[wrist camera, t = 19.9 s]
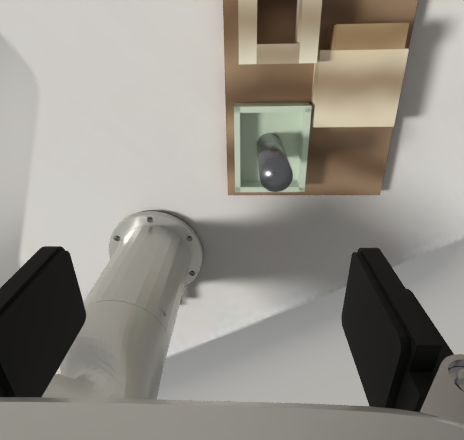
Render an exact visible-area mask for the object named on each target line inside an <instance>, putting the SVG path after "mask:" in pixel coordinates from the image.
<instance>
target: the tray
mask: <svg viewBox="0 0 464 440" xmlns="http://www.w3.org/2000/svg"><path fill="white" fill-rule="evenodd" d="M311 109H312V106H311V105H310V104H309V103H308V102H272V103H235V104H234V149H235V192H271V191H268V190H267V189H265V188H264V187H263V186H262V184H261V182H260V177H259V167H258V157H257V147H256V145H257V141H258V139H259V138H260V137H261V136H262V135H263V134H266V133H274V134H276V135H277V136H279V138H280V139H281V142H282V144H283V147H284V150H285V153H286V155H287V158H288V161H289V164H290V166H291V169H292V172H293V179H292V182H291V184H290V185H289V186H288V187H287V188H286V189H285V190H283V191H280V192H305V180H306V168H307V156H308V145H309V133H310V121H311Z"/></svg>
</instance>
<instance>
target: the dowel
mask: <svg viewBox="0 0 464 440" xmlns="http://www.w3.org/2000/svg"><path fill="white" fill-rule="evenodd" d="M256 147H257V157H258V167H259V177H260V182H261V184H262V186H263V187H264V188H265V189H267V190H268V191H271V192H280V191H283V190H285V189H286V188H287V187H288V186H289V185H290V184H291V182H292V179H293V172H292V169H291V166H290V164H289V161H288V158H287V155H286V153H285V150H284V147H283V144H282V142H281V139H280V138H279V136H277V135H276V134H274V133H266V134H263V135H262V136H261V137H260V138H259V139H258V141H257V145H256Z"/></svg>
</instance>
